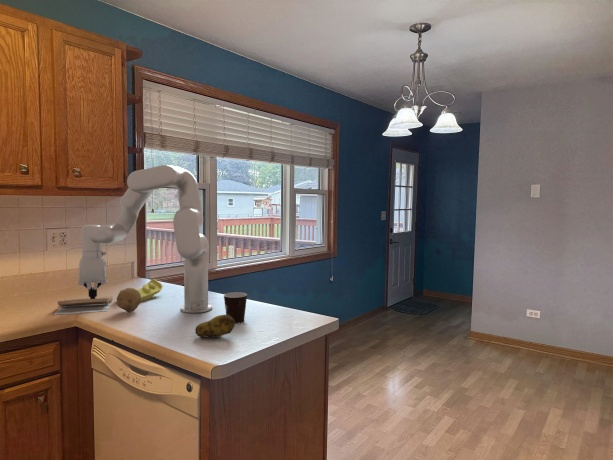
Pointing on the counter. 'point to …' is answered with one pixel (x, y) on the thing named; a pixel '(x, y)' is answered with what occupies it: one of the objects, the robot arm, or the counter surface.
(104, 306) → the laid floor
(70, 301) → the plank
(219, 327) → the potato
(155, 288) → the plastic component
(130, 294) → the natural sponge
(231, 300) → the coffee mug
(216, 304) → the counter surface
